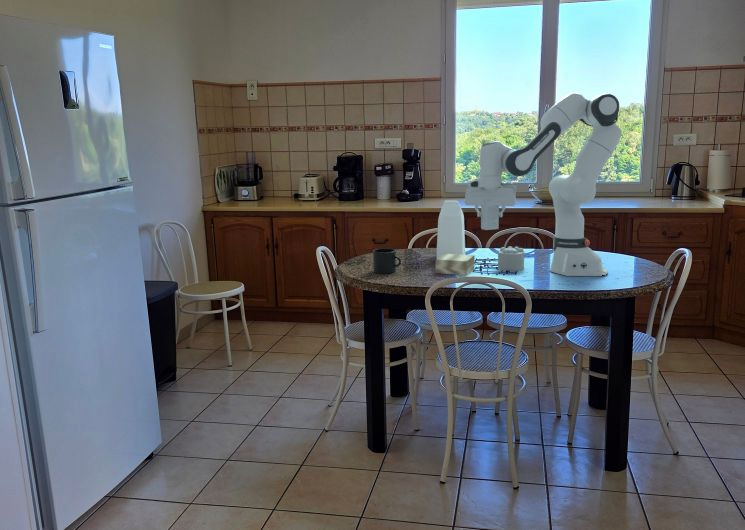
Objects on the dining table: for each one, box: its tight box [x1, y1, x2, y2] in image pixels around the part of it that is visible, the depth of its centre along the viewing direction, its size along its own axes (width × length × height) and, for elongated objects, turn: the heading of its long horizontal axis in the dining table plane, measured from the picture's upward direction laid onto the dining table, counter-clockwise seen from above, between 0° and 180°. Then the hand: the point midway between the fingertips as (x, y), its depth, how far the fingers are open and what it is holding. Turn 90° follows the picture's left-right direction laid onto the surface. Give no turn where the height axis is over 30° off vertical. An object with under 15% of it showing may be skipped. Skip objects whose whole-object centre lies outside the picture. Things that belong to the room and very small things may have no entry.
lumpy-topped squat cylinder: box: [497, 245, 525, 272], centre depth 276 cm, size 10×13×9 cm
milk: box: [435, 200, 466, 258], centre depth 299 cm, size 12×12×26 cm
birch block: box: [435, 254, 476, 276], centre depth 272 cm, size 13×13×6 cm
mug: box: [372, 248, 402, 275], centre depth 271 cm, size 9×12×9 cm
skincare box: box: [480, 200, 500, 231], centre depth 263 cm, size 6×4×12 cm
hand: (489, 216), depth 264 cm, fingers closed on skincare box, 7 cm apart
